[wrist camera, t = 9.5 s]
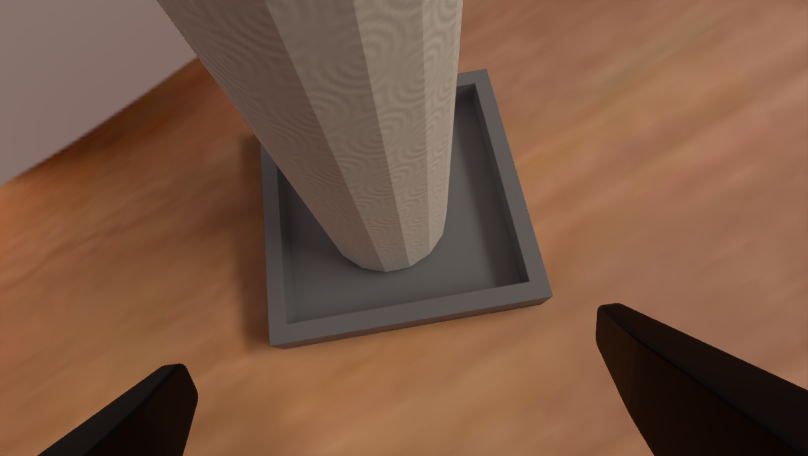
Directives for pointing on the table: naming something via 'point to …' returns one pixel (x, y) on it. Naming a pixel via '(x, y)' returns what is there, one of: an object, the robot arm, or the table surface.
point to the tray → (428, 278)
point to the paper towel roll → (344, 108)
